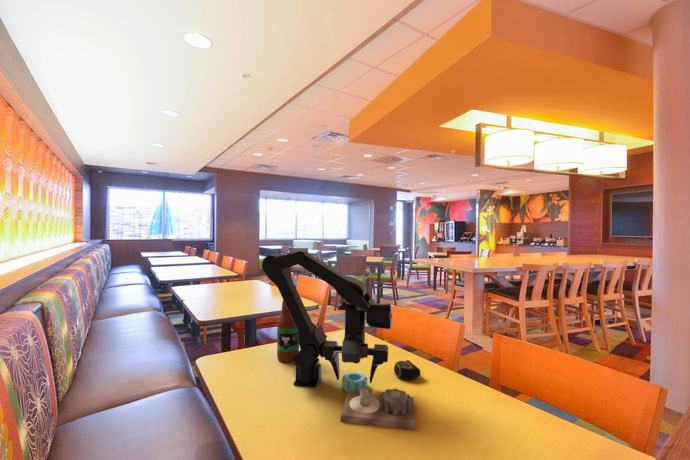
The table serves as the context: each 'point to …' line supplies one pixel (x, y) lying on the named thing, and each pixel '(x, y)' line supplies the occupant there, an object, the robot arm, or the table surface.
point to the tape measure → (406, 370)
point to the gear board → (379, 409)
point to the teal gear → (354, 381)
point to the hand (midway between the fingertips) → (354, 381)
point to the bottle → (286, 336)
